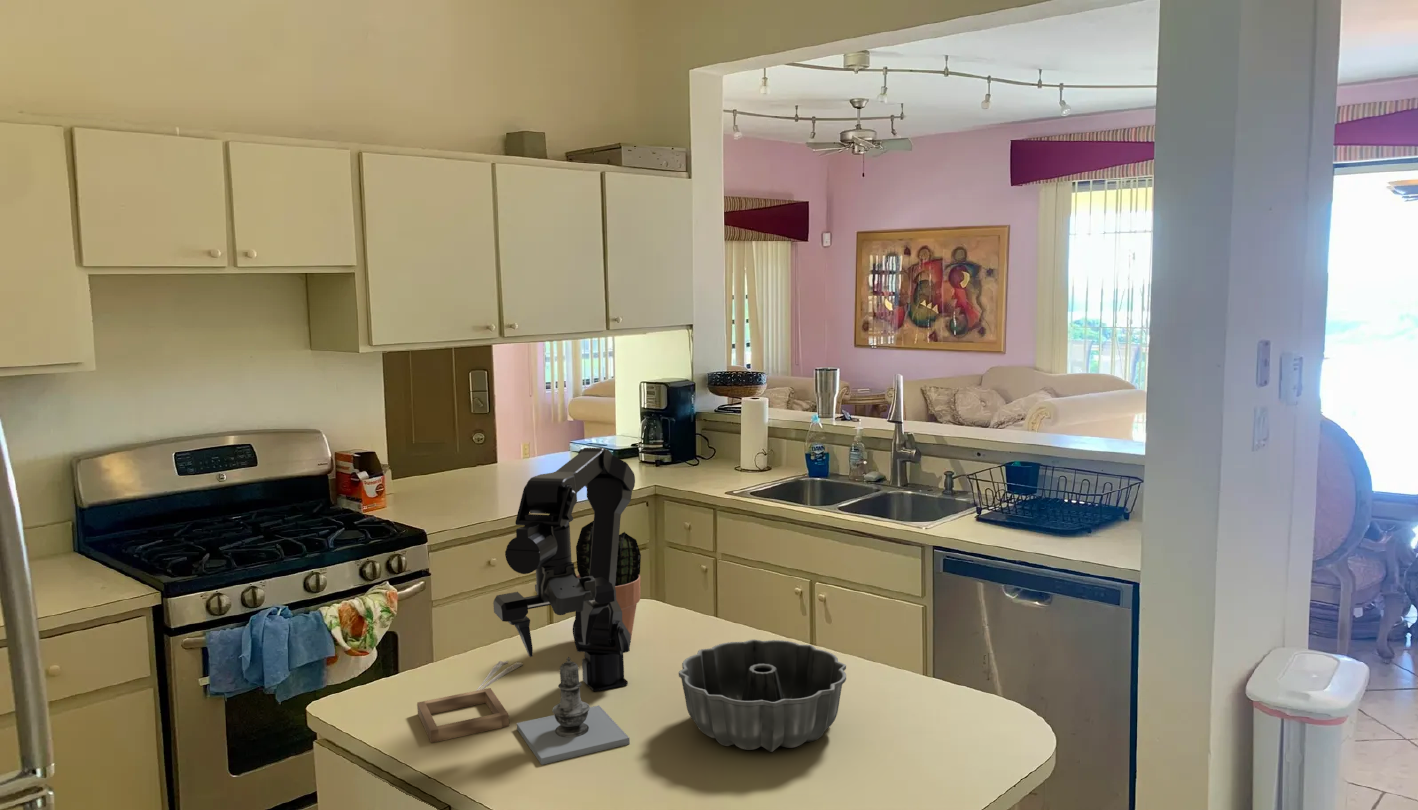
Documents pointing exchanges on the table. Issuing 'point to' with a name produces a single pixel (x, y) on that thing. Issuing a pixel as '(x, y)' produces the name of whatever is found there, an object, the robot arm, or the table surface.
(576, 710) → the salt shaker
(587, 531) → the potted plant
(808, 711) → the bundt pan
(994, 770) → the table surface
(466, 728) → the frame
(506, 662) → the tweezers
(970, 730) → the table surface
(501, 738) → the table surface
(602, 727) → the grey mat
